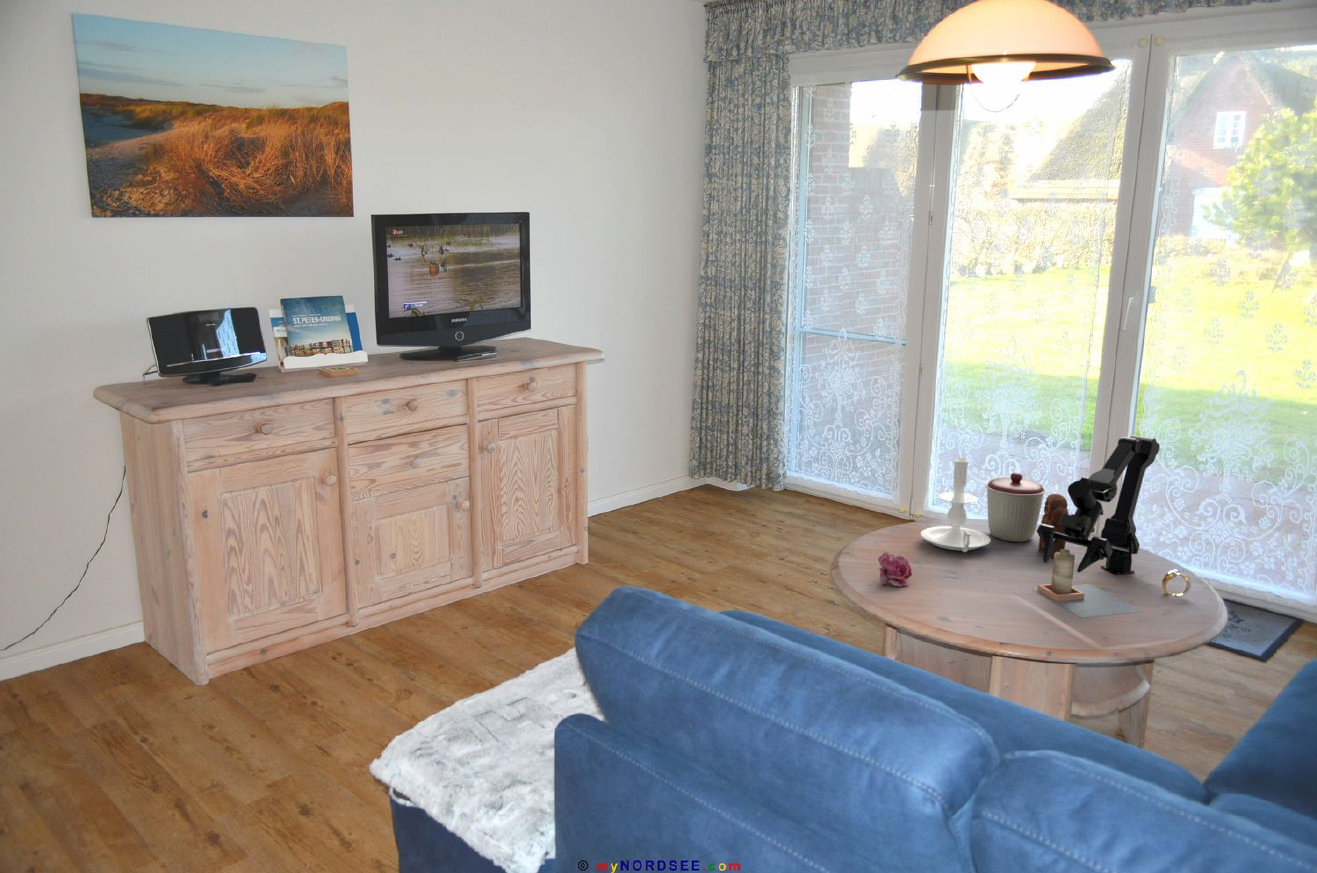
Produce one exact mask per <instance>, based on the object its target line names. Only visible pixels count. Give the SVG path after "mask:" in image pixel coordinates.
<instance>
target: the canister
mask: <svg viewBox="0 0 1317 873" xmlns="http://www.w3.org/2000/svg"><path fill="white" fill-rule="evenodd" d="M984 486H985V488H986V491H987V493H986V494H987V495H986V498H987V500H986V501H987V521H988V522H987V523H988V524H987V525H988V530H989V532H990V534H991V536H993V537H994V538H996V539H999V540H1002V541H1007V542H1014V543H1017V542H1018V543H1020V542H1027V541H1030V540H1031V539H1033V536H1034V535H1035V533H1036V531H1037V526H1038V522H1039V517H1040V512H1041V508H1042V504H1043V499H1044V496H1045V494H1046V492H1047V488H1045V487H1044V486H1042V484H1040V483H1039V482H1037V481H1034V480H1031V479H1027V478H1023V475H1022V473H1021V472H1019V471H1018V472H1017V471H1016V472H1012V473H1011V474H1010V477H997V478H993V479H991V480H990V481H987V482H985V483H984Z"/></svg>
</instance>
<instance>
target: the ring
mask: <svg viewBox="0 0 1317 873" xmlns="http://www.w3.org/2000/svg"><path fill="white" fill-rule="evenodd" d="M1184 572H1185V571H1184V570H1179V568H1175V569H1173V570H1171V569H1170V571H1168V572H1167V573H1166V574H1164V576H1163V578H1162V582H1161V589H1162V591H1163V593H1165V595H1166V596H1173V597H1175V598H1178V599H1180V598H1182V597H1184V596H1186V595H1187V594H1188V593H1189V592H1190V591H1191V586H1192V582H1191V579H1190V577H1189V576H1188V575H1187V574H1185V573H1184ZM1179 576H1181V577H1182V578H1183V579H1184V580H1185V581H1186V586H1185V590H1184V591H1183V592H1181V593H1173V594H1171V593H1169V592H1168V591H1167V588H1166V587H1167V583H1168V582H1169V581H1171V580H1173V579H1174V578H1177V577H1179Z"/></svg>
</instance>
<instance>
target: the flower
mask: <svg viewBox="0 0 1317 873" xmlns="http://www.w3.org/2000/svg"><path fill="white" fill-rule="evenodd" d="M877 561H878V563H879V565H880V566H881V567H878V569H879V583H880V585H881V586H883V585H886V584H887V583H888V582H890V584H891V585H893V586H895V587H898V588H899V587H909V584H908V582H907V581H906V580H908V579H910V578H911V577H912V576H913V573H912V567H911V565H910V564H909V561H908V560H907V559H906V558H904V557H903V556H900V555H899V556H895V554H889V552H888V551H887V552H883V553H882V554H881V555H880V556H879V557H878V560H877Z"/></svg>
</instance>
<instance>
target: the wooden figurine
mask: <svg viewBox="0 0 1317 873" xmlns="http://www.w3.org/2000/svg"><path fill="white" fill-rule="evenodd" d="M1068 504H1069V503H1068V501H1067V499H1066V497H1064V496H1063V495H1062V494H1058V493H1050V494H1049V495H1048V496H1047V497H1046V499H1045V502H1044V507H1043V513H1044V514H1043V515H1042V517H1041V518H1042V520H1041V522H1040V523H1041V524H1046V525H1050V526H1054V527H1055V528H1056V530H1057V532H1059V533H1063V534H1065V531H1063V530H1062V528H1063V526H1061V525H1059V522H1060V518H1061V515H1062V513H1064V514H1068V515H1069V509H1068ZM1041 524H1040V525H1041ZM1038 539H1039V541H1038V551H1039V552H1041V554H1043V555H1044V542H1043V541H1042V540H1041V538H1040V537H1039V538H1038ZM1066 543H1067V542H1065V541H1061V540H1058V542H1057V543H1056V544H1055V545H1056V548H1055V550H1054V551H1053V553H1052V555H1051V557H1050V558H1053V559H1054V553H1056V552H1060V550H1061V549H1066Z"/></svg>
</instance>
